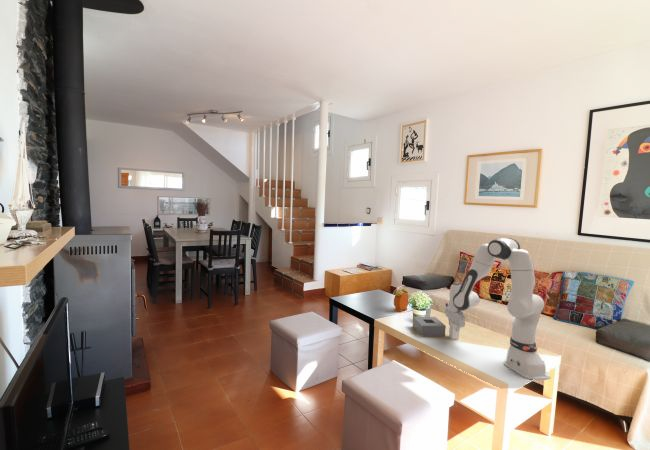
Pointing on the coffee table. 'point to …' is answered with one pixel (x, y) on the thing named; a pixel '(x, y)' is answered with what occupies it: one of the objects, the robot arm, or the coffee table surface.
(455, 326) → the plug peg
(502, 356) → the coffee table surface
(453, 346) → the coffee table surface
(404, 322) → the coffee table surface
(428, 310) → the small box
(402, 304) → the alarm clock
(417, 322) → the socket block
